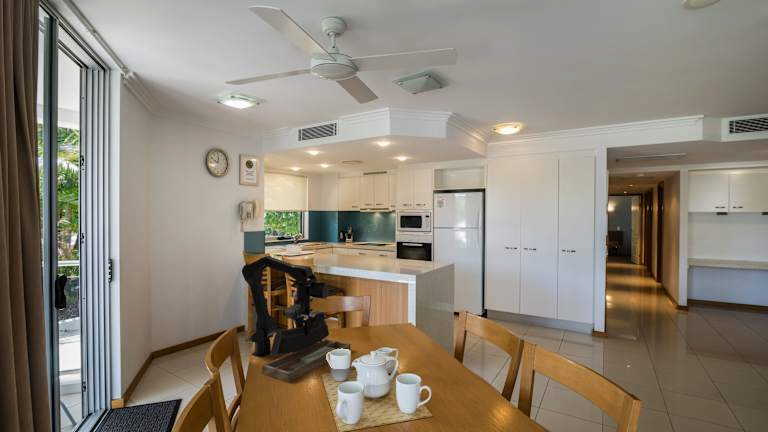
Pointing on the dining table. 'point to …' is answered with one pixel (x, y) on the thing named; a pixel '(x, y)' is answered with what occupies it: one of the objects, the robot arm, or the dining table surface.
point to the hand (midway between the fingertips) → (303, 334)
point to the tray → (282, 364)
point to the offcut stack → (311, 358)
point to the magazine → (298, 338)
